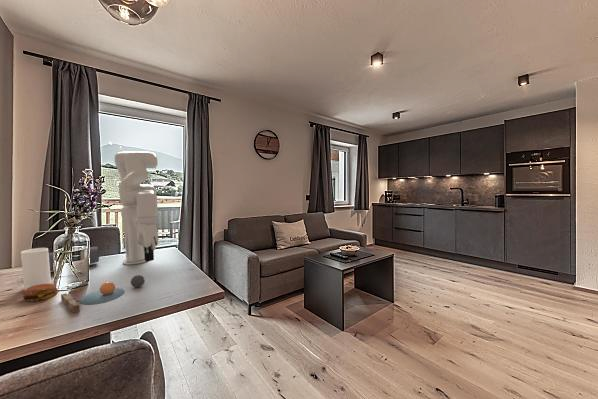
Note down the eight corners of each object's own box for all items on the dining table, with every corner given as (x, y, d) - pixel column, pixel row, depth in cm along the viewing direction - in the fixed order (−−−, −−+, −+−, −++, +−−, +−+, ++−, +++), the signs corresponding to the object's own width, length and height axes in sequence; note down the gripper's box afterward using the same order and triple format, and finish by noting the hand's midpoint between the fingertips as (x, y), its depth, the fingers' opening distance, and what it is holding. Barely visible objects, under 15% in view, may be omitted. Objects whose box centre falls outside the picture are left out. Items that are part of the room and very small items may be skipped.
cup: (37, 290, 109) (34, 252, 108) (18, 290, 109) (14, 252, 108) (56, 283, 117) (53, 247, 116) (38, 283, 118) (35, 247, 116)
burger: (44, 291, 109) (43, 280, 109) (63, 292, 108) (62, 281, 107) (15, 302, 99) (14, 290, 99) (36, 304, 98) (35, 292, 98)
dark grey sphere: (139, 270, 114) (140, 279, 116) (127, 277, 110) (128, 285, 112) (146, 276, 112) (147, 285, 114) (135, 283, 108) (136, 291, 110)
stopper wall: (61, 300, 100) (60, 294, 100) (66, 299, 101) (66, 293, 101) (74, 313, 90) (73, 306, 90) (79, 311, 91) (79, 304, 91)
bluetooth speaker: (97, 261, 147) (95, 244, 147) (99, 265, 141) (98, 247, 140) (40, 272, 132) (38, 252, 131) (40, 277, 125) (38, 256, 124)
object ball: (115, 286, 109) (103, 295, 106) (107, 277, 107) (95, 287, 104) (119, 288, 106) (107, 298, 103) (111, 280, 104) (98, 290, 101)
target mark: (74, 297, 102) (74, 297, 102) (116, 285, 113) (116, 285, 113) (86, 308, 94) (86, 307, 94) (130, 294, 105) (130, 293, 105)
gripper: (130, 219, 117) (132, 259, 119) (146, 223, 109) (148, 266, 111) (148, 216, 123) (150, 255, 125) (164, 221, 115) (166, 262, 117)
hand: (149, 260), depth 118 cm, fingers closed
